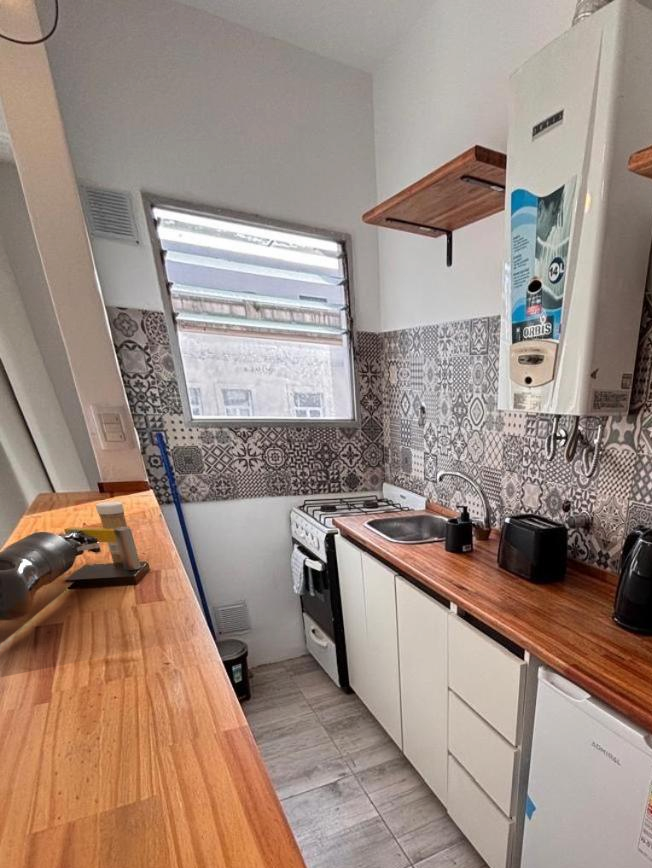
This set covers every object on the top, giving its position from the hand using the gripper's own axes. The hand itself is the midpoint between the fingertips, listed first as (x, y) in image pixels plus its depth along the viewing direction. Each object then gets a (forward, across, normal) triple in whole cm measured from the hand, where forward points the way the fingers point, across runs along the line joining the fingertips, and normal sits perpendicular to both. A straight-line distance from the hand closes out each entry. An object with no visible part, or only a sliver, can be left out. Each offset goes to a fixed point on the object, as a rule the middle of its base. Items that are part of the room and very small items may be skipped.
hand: (78, 534), depth 100 cm
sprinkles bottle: (+6, -4, +9) cm, 12 cm away
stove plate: (-2, -4, +9) cm, 10 cm away
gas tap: (0, -4, +7) cm, 8 cm away
